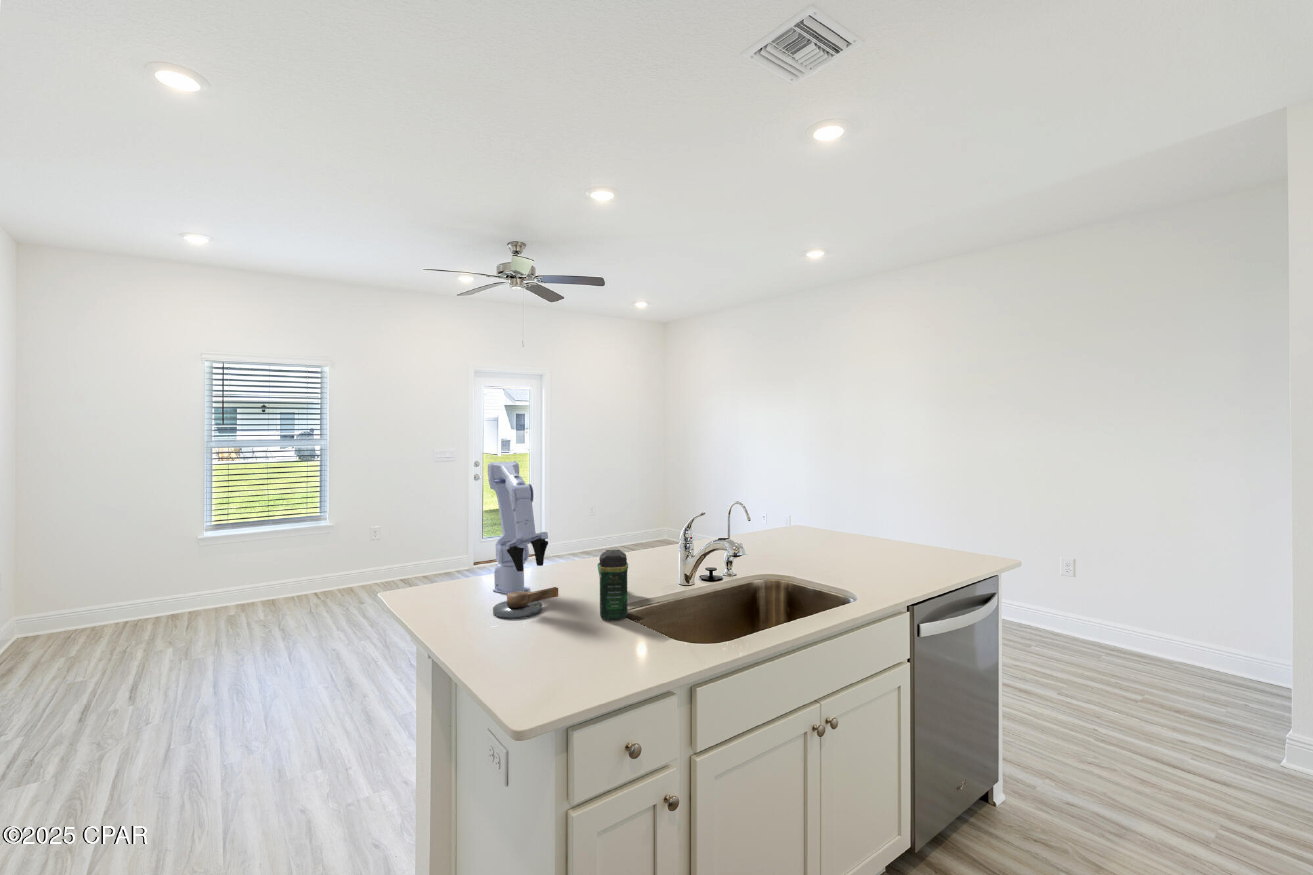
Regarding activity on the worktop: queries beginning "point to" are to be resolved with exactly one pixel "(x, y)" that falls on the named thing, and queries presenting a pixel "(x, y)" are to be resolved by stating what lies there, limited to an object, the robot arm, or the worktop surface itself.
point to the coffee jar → (613, 585)
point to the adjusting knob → (530, 597)
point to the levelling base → (516, 610)
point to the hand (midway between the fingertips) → (530, 568)
